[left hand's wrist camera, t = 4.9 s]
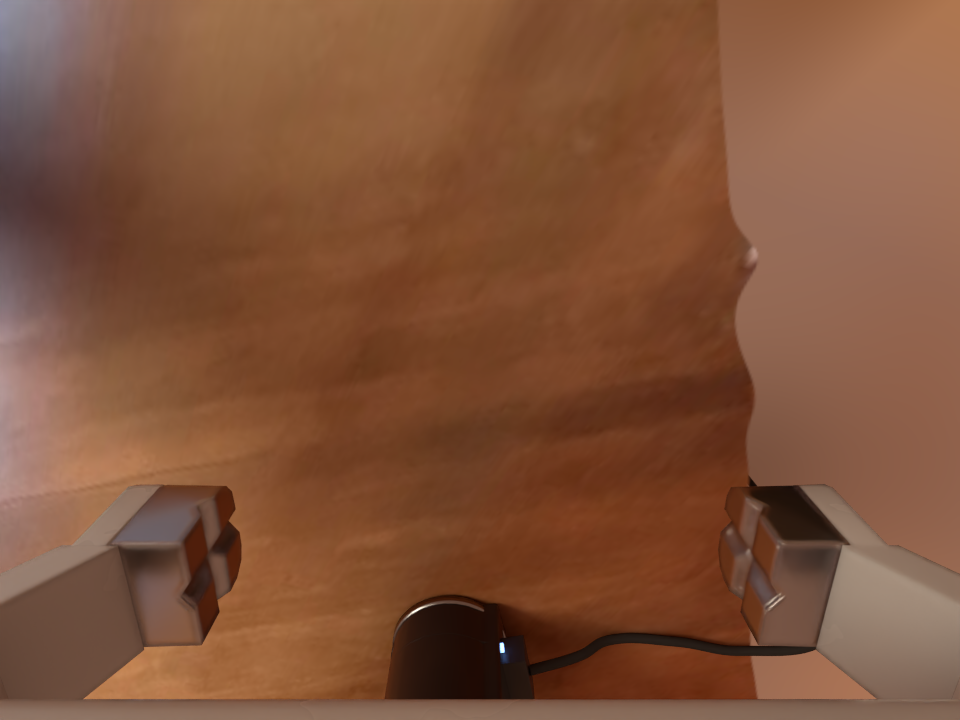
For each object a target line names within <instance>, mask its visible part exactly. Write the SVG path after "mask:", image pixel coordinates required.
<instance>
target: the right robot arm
mask: <svg viewBox="0 0 960 720" xmlns="http://www.w3.org/2000/svg"><path fill="white" fill-rule="evenodd" d="M749 487H758V486H757V485H756V484H755V482H754V481H753V480H752V479H751V477H750V476H749ZM621 643H644V644H655V645H664V646H675V647H685V648H691V649H696V650H701V651H706V652H710V653H715V654H722V655H731V656H786V655H796V654H802V653H807V652H810V651H813V650H815V649H816V647H804V646H727V645H719V644H713V643H708V642H704V641H699V640H694V639H689V638H682V637H672V636H661V635H651V634H638V633H623V634H613V635H608V636H604V637H601V638H598V639H596V640H595V641H593V642H592V643H591V644H589V645H588V646H586V647H585V648H583V649H581V650H579V651H576V652H574V653H571V654H568V655H565V656H561V657H558V658H554V659H550V660H547V661H543V662H539V663H535V664H532V665H530V664H529V660H528V655H527V650H526V646H525V641H524V636H523V635H520V636H513V637H507V638H506V632H505V629H504V626H503V624H502V619H501V615H500V610H499V606H498V605H497V604H489V605H483V604H481V603H479V602H477V601H474V600H472V599H468V598H464V597H458V596H439V597H434V598H430V599H427V600H424V601H421V602H419V603H417V604H416V605H414V606H412V607H411V608H410V609H408V610H407V611H406V612H405V613H404V614H403V615H402V617H401V618H400V619H399V621H398V623H397V625H396V628H395V631H394V637H393V647H392V653H391V662H390V669H389V675H388V681H387V687H386V693H385V699H534V688H533V678H532V675H535V674H539V673H543V672H546V671H550V670H554V669H558V668H561V667H565V666H568V665H571V664H574V663H577V662H579V661H582V660H584V659H586V658H588V657H590V656H591V655H593V654H594V653H595V652H597V651H598V650H599V649H601V648H603V647H605V646H609V645H614V644H621Z"/></svg>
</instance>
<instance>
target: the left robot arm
mask: <svg viewBox="0 0 960 720" xmlns="http://www.w3.org/2000/svg"><path fill="white" fill-rule="evenodd" d="M234 511H235V504H234V499H233V494H232V491H231V490H230V489H229V488H228V487H227V486H197V485H134V486H130V487H128V488H127V489H126V490H125V491H124V492H123V493H122V494H121V495H120V496H119V497H118V498H117V499H116V500H115V501H114V502H113V503H112V504H111V505H110V506H109V507H108V508H107V510H106V511H105V512H104V513H103V514H102V515H101V516H100V517H99V518H98V519H97V520H96V521H95V522H94V523H93V524H92V525H91V526H90V527H89V528H88V529H87V530H86V531H85V532H84V533H83V534H82V535H81V536H80V537H79V539H78V540H77V541H76V542H75V543H74V544H73V545H70V546H59V547H57V548H55V549H53V550H51V551H49V552H47V553H44V554H42V555H40V556H38V557H36V558H34V559H31V560H29V561H27V562H25V563H23V564H21V565H19V566H16V567H14V568H12V569H10V570H8V571H6V572H3V573H1V574H0V720H960V574H959V573H956V572H954V571H952V570H950V569H948V568H946V567H944V566H941V565H939V564H937V563H935V562H933V561H931V560H928V559H926V558H924V557H922V556H920V555H918V554H916V553H913V552H911V551H909V550H907V549H905V548H903V547H901V546H890V545H887V544H886V543H885V542H884V541H883V540H882V538H881V537H880V536H879V535H878V534H877V533H876V532H875V531H874V530H873V529H872V528H871V527H870V526H869V525H868V524H867V523H866V522H865V521H864V520H863V519H862V518H861V517H860V516H859V515H858V514H857V513H856V511H854V509H853V508H852V507H851V506H850V505H849V504H848V503H847V502H846V501H845V500H844V499H843V498H842V497H841V496H840V495H839V494H838V493H837V492H836V491H835V490H834V489H833V488H832V487H830V486H827V485H825V484H817V485H793V486H759V487H731V488H730V490H729V492H728V495H727V498H726V503H725V511H726V512H727V514H728V516H729V517H730V519H731V522H730V523H729V524H728V525H727V526H726V527H725V528H724V529H723V530H722V531H721V533H720V540H719V548H718V552H719V563H720V569H721V572H722V576H723V579H724V581H725V583H726V585H727V587H728V589H729V591H730V592H732V593H733V594H735V595H736V596H738V597H739V598H741V599H742V600H743V601H742V607H741V614H742V616H743V617H744V619H745V621H746V623H747V625H748V627H749V629H750V630H751V632H752V634H753V636H754V638H755V640H756V642H757V643H758V645H768V646H804V647H816V650H817V651H818V652H820V653H821V654H822V655H823V656H825V657H826V658H827V659H828V660H830V661H831V662H832V663H833V664H835V665H836V666H837V667H838V668H839V669H841V670H842V671H843V672H844V673H846V674H847V675H848V676H849V677H851V678H852V679H853V680H854V681H856V682H857V683H858V684H859V685H860V686H862V687H863V688H864V689H865V690H867V691H868V692H869V693H870V694H872V695H873V696H874V697H875V698H877V699H84V698H85V697H86V696H87V695H89V694H90V693H91V692H92V691H94V690H95V689H96V688H97V687H98V686H100V685H101V684H102V683H103V682H105V681H106V680H107V679H108V678H110V677H111V676H112V675H113V674H115V673H116V672H117V671H118V670H120V669H121V668H122V667H123V666H125V665H126V664H127V663H128V662H130V661H131V660H132V659H133V658H135V657H136V656H137V655H138V654H140V653H141V652H142V651H143V650H144V647H156V646H190V645H202V644H203V642H204V640H205V638H206V636H207V634H208V632H209V631H210V629H211V627H212V625H213V623H214V621H215V619H216V617H217V616H218V614H219V607H218V601H217V600H218V599H219V598H221V597H222V596H224V595H225V594H227V593H228V592H230V591H231V589H232V587H233V585H234V583H235V581H236V579H237V576H238V572H239V567H240V563H241V539H240V532H239V531H238V530H237V529H236V528H235V527H234V526H233V525H232V524H231V523H230V522H229V519H230V517H231V516H232V514H233V512H234Z"/></svg>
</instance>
